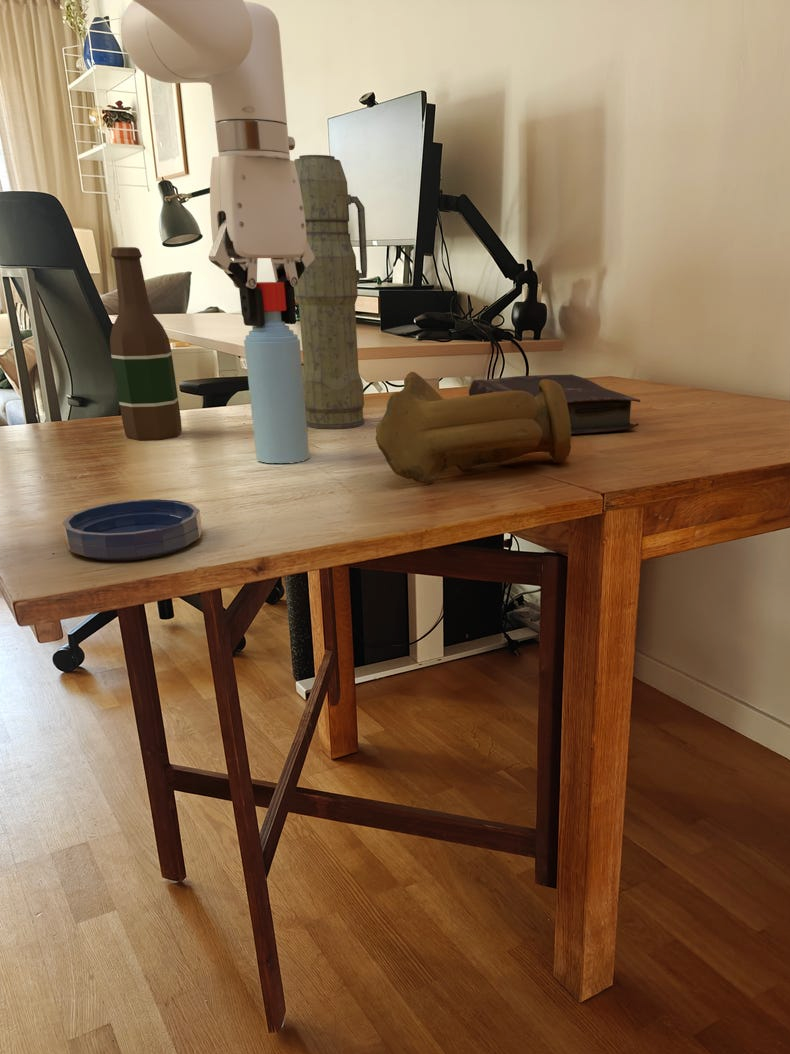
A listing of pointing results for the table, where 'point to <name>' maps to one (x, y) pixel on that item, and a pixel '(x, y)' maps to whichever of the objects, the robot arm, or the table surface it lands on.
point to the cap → (273, 296)
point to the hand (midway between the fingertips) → (270, 322)
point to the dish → (132, 529)
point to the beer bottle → (141, 357)
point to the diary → (572, 400)
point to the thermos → (330, 296)
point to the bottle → (276, 391)
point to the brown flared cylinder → (470, 428)
